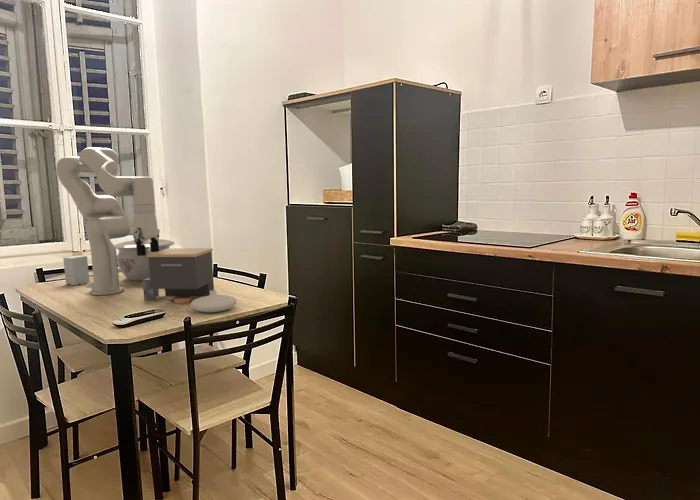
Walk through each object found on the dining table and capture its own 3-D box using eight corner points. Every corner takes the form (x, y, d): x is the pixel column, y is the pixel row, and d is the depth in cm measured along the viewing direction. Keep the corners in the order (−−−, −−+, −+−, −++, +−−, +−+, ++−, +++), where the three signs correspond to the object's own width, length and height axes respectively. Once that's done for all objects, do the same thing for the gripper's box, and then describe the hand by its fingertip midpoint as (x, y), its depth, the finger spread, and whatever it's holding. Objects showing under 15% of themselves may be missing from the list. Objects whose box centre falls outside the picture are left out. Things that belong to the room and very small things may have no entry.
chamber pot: (136, 273, 254) (132, 232, 251) (187, 273, 250) (184, 232, 248) (101, 284, 227) (97, 239, 224) (158, 284, 223) (154, 238, 220)
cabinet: (150, 304, 186) (146, 254, 183) (171, 295, 201) (168, 248, 199) (198, 305, 183) (194, 254, 181) (215, 295, 199) (212, 248, 196)
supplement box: (90, 282, 231) (87, 255, 229) (74, 285, 225) (71, 258, 223) (81, 281, 235) (78, 255, 233) (65, 284, 229) (62, 257, 227)
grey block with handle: (144, 300, 194) (142, 279, 193) (149, 297, 198) (148, 278, 197) (200, 300, 191) (199, 280, 190) (204, 298, 195) (203, 278, 193)
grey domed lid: (193, 318, 166) (192, 297, 165) (188, 308, 180) (187, 288, 179) (241, 312, 172) (240, 292, 171) (232, 303, 187) (231, 284, 186)
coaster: (171, 304, 186) (170, 299, 186) (178, 300, 192) (178, 295, 192) (186, 304, 186) (186, 299, 185) (193, 301, 192) (193, 296, 191)
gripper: (147, 208, 200) (151, 250, 202) (122, 210, 183) (126, 257, 185) (165, 207, 199) (168, 250, 201) (141, 210, 182) (145, 256, 184)
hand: (148, 253), depth 193 cm, fingers open, 9 cm apart
